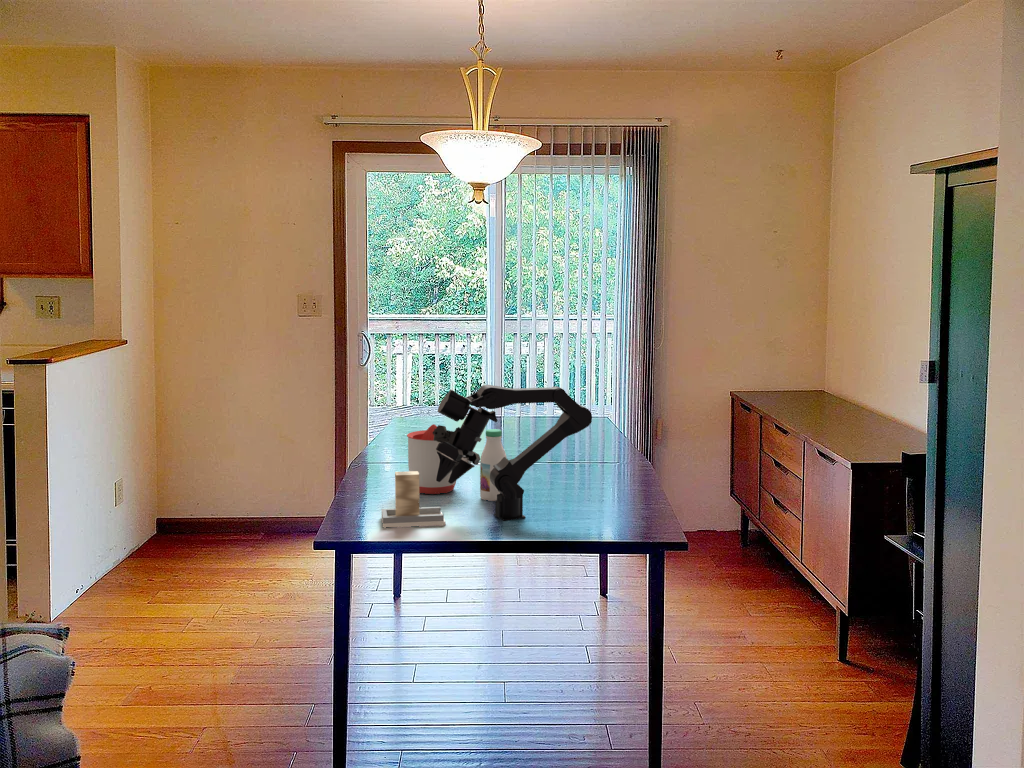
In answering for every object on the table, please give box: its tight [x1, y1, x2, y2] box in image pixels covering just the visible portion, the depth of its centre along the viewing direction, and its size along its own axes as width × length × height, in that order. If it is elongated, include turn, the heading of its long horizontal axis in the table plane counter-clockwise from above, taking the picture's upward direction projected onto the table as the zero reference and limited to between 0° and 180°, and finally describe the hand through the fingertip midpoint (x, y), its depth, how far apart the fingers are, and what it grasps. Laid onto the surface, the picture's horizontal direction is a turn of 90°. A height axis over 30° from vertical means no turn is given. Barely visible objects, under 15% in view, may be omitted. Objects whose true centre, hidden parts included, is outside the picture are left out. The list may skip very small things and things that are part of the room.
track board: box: [381, 506, 446, 529], centre depth 249 cm, size 16×10×2 cm, turn 100°
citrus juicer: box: [406, 423, 457, 495], centre depth 281 cm, size 16×17×20 cm
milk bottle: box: [479, 428, 508, 502], centre depth 272 cm, size 8×8×20 cm
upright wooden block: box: [394, 470, 420, 516], centre depth 248 cm, size 6×4×12 cm, turn 100°
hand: (443, 482), depth 248 cm, fingers open, 9 cm apart
